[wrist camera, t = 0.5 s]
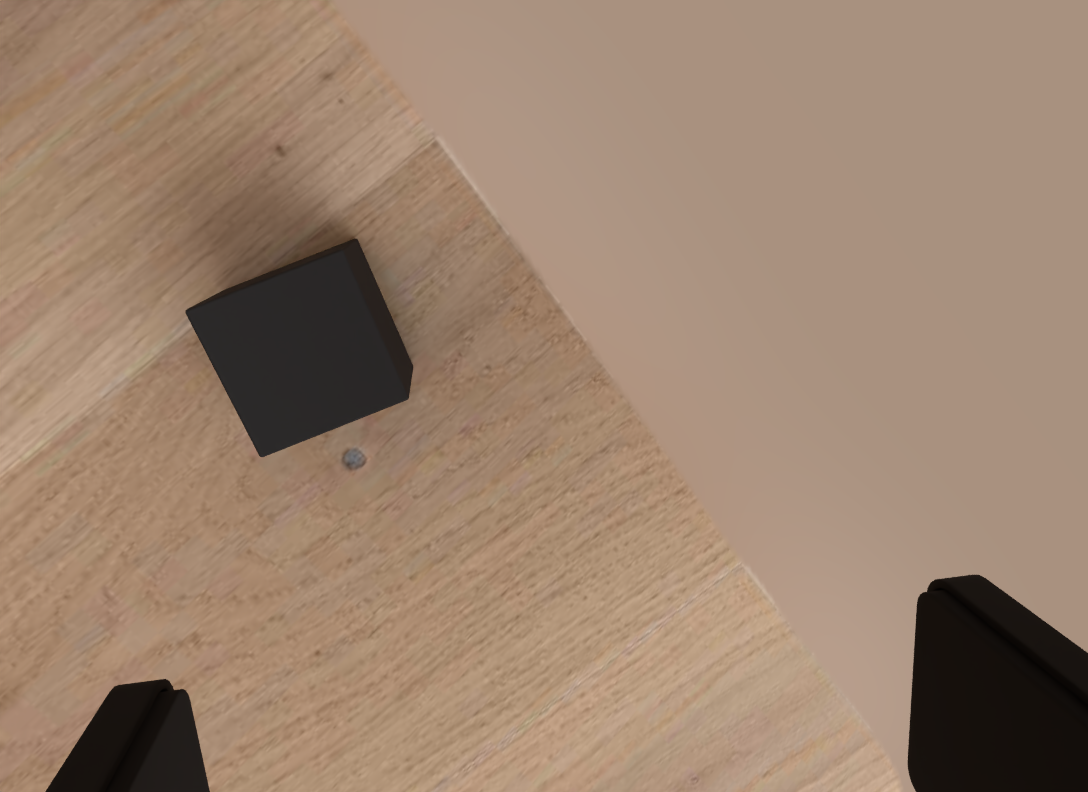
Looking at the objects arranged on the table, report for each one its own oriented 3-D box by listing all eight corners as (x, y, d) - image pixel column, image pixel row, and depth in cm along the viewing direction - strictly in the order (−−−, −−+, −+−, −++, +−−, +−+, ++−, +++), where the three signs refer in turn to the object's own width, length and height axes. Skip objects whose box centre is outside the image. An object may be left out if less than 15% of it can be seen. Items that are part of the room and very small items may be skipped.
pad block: (222, 290, 25) (183, 310, 21) (357, 237, 25) (342, 248, 22) (285, 418, 27) (259, 458, 23) (414, 367, 27) (409, 399, 23)
